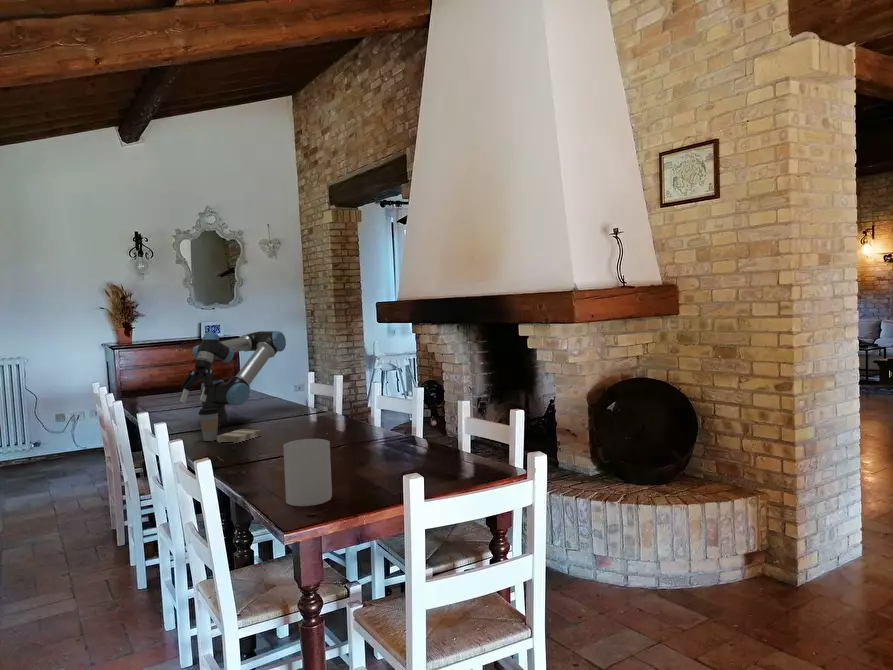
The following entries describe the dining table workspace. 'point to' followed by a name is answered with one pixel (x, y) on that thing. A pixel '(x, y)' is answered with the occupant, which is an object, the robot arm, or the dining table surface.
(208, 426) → the coffee cup
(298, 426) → the dining table surface
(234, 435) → the beige ridged slab
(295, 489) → the container
